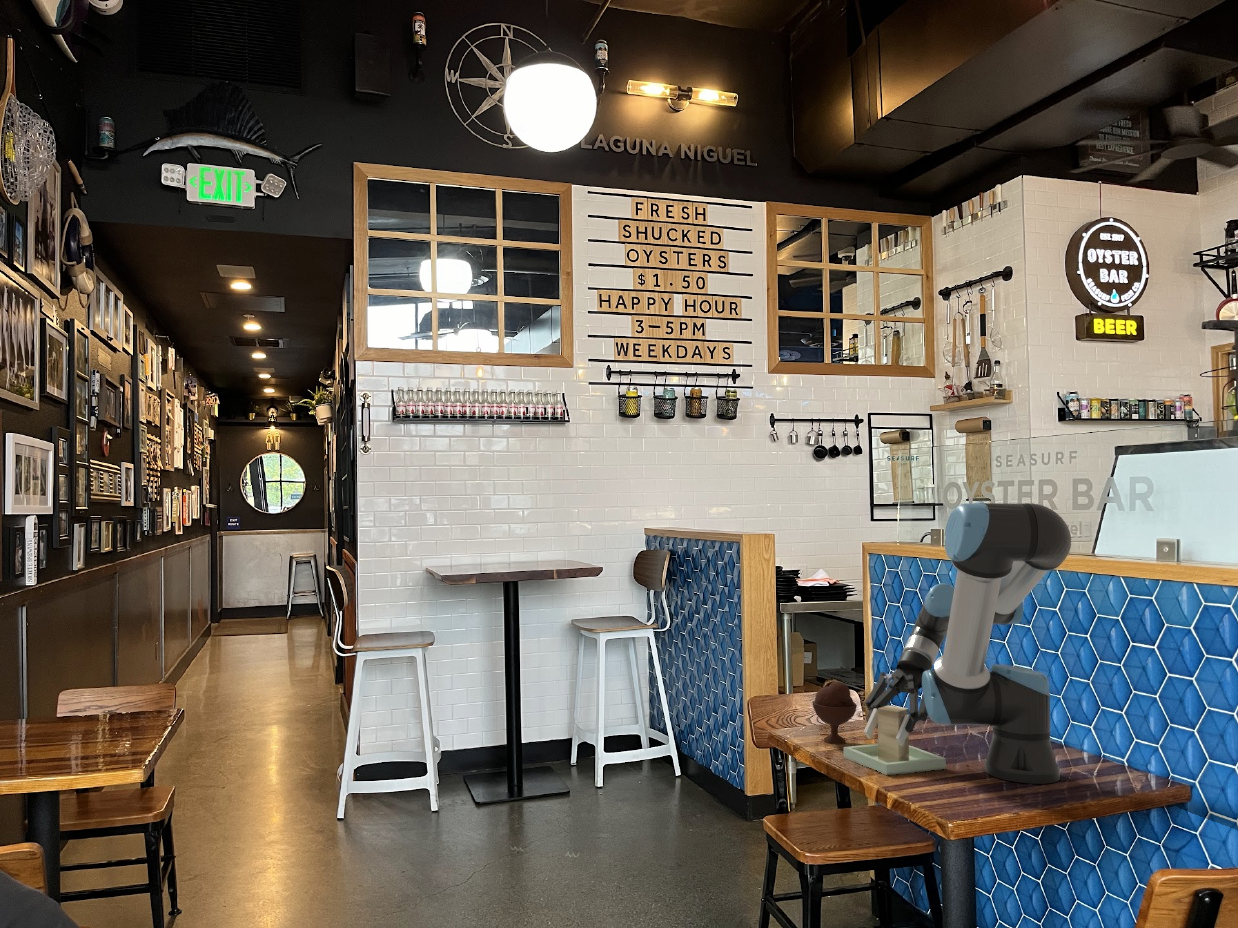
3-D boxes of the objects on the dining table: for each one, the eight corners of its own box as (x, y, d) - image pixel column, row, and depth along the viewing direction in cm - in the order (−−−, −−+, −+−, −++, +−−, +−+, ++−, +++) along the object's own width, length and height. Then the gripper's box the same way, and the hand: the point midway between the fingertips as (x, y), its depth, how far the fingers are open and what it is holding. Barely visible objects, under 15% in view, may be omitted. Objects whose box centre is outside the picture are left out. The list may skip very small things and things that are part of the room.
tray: (945, 769, 204) (945, 758, 205) (886, 775, 199) (886, 764, 199) (899, 751, 219) (899, 741, 219) (843, 757, 214) (843, 746, 214)
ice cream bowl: (852, 736, 234) (852, 677, 235) (859, 747, 223) (859, 685, 224) (810, 735, 235) (810, 676, 236) (815, 746, 224) (815, 684, 225)
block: (888, 757, 213) (888, 705, 213) (909, 761, 209) (908, 708, 210) (878, 761, 209) (877, 708, 210) (898, 765, 206) (898, 711, 206)
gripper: (962, 675, 214) (930, 757, 202) (884, 663, 228) (849, 739, 216) (953, 654, 211) (919, 737, 198) (873, 643, 225) (837, 720, 213)
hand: (883, 738), depth 207 cm, fingers open, 7 cm apart
